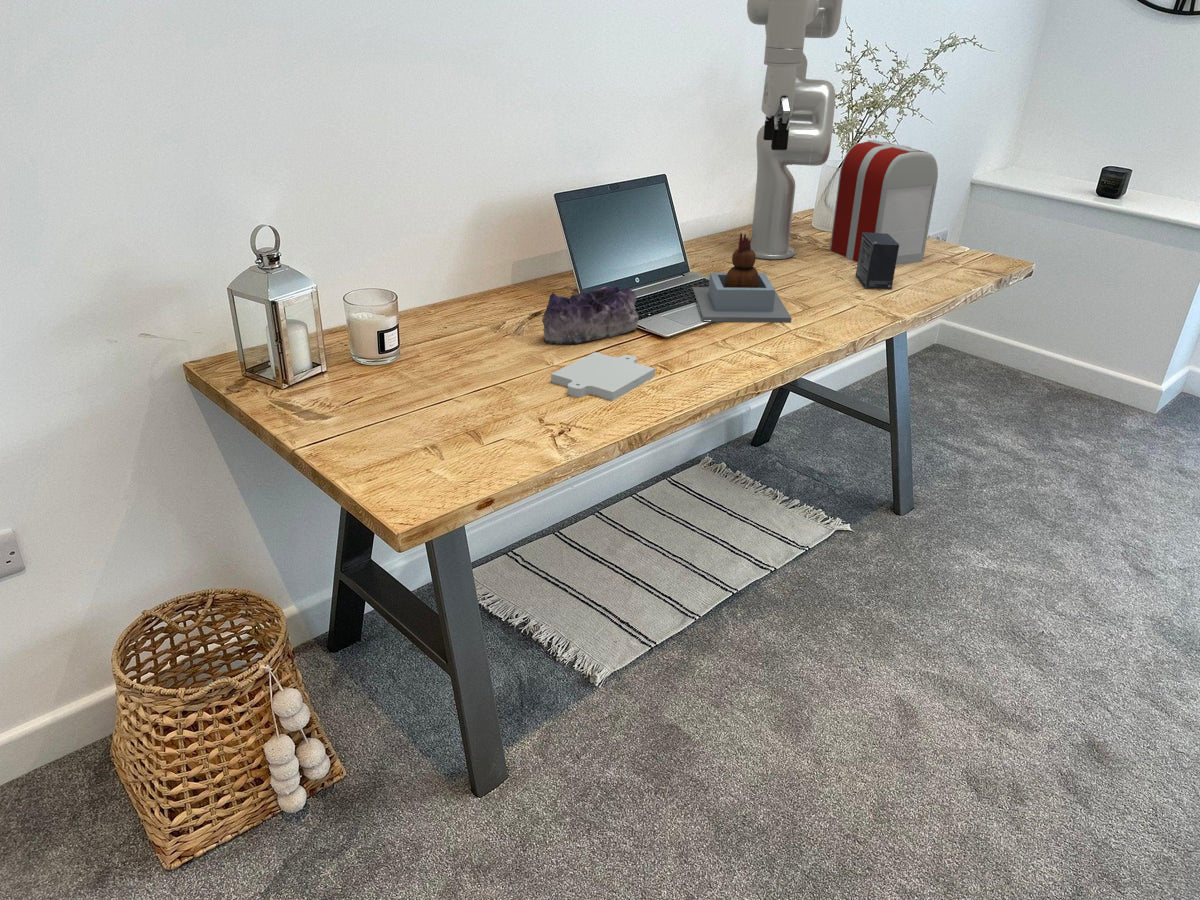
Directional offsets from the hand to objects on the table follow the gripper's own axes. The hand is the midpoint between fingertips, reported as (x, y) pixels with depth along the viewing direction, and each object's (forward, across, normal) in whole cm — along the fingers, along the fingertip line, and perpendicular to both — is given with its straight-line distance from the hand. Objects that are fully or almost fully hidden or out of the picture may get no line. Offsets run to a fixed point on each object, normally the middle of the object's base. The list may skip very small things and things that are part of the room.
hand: (774, 144), depth 194 cm
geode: (+30, +31, -39) cm, 58 cm away
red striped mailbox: (+33, -28, +34) cm, 55 cm away
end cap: (+31, +13, -7) cm, 34 cm away
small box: (+32, -5, +27) cm, 42 cm away
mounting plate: (+30, +53, -36) cm, 71 cm away
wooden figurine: (+30, +13, -7) cm, 33 cm away
